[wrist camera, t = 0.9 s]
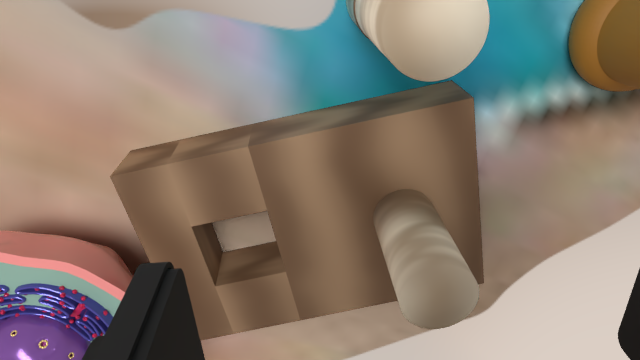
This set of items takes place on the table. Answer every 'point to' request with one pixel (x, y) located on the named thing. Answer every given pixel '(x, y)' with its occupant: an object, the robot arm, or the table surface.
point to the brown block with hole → (321, 212)
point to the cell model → (56, 295)
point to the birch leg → (424, 33)
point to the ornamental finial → (607, 44)
